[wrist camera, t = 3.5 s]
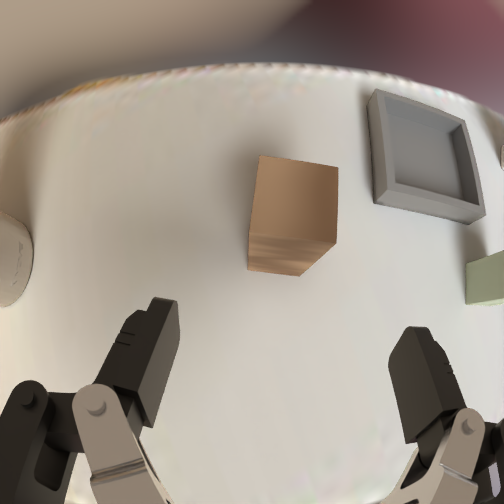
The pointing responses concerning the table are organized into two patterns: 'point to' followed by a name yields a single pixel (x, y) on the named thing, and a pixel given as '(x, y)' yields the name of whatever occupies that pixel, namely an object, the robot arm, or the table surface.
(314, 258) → the walnut block
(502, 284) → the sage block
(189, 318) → the table surface
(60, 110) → the table surface
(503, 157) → the ink box
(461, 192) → the desk tray
